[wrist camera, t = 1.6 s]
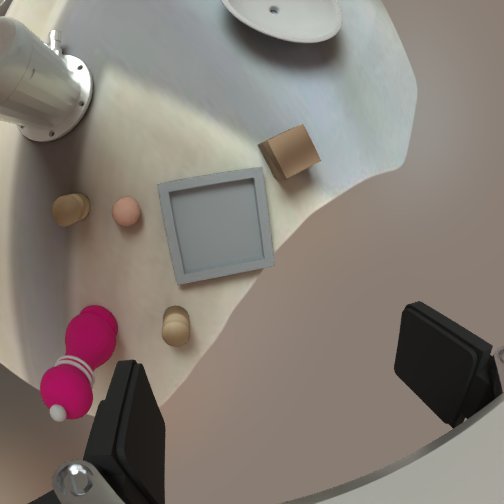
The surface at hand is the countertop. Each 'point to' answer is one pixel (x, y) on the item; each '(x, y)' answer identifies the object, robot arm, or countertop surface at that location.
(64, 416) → the pepper mill
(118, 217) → the ball
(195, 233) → the tray
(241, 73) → the countertop surface
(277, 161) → the walnut block
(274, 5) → the dish
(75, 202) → the cork
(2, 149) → the countertop surface
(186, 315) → the cork
